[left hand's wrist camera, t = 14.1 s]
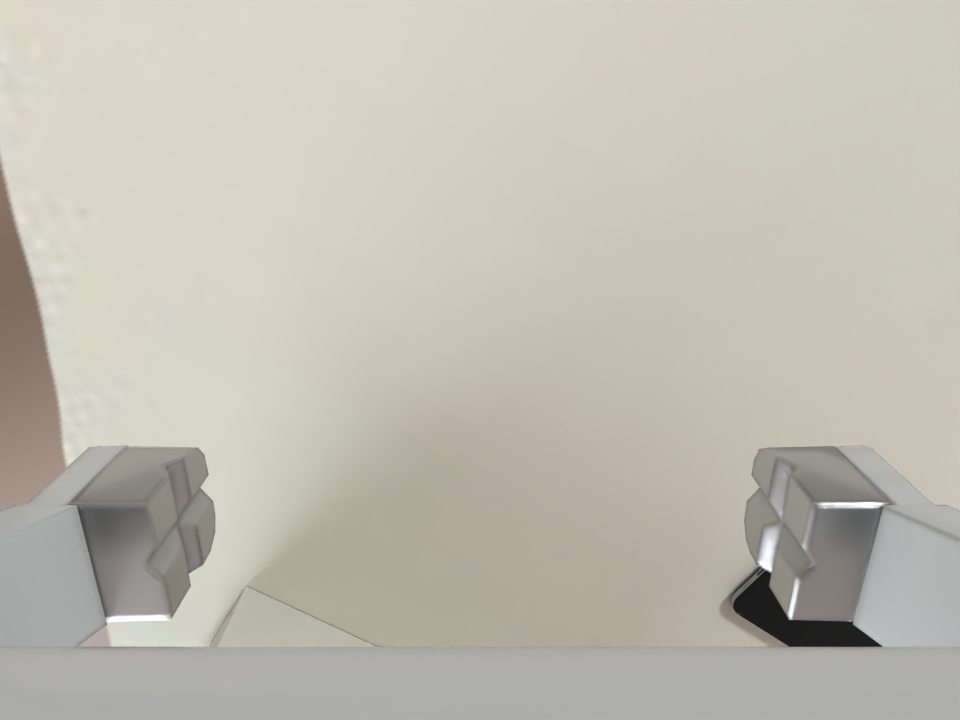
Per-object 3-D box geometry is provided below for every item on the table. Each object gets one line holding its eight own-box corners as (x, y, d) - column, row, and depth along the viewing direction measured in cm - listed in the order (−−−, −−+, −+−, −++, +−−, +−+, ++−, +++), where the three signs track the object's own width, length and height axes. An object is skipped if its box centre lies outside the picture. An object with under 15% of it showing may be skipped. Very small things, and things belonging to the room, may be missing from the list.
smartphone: (800, 539, 47) (947, 638, 50) (795, 532, 47) (941, 632, 50) (726, 608, 49) (872, 699, 52) (723, 601, 49) (867, 692, 53)
